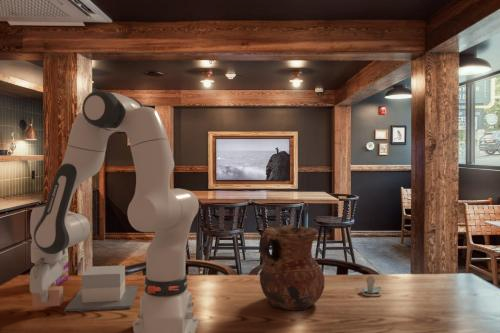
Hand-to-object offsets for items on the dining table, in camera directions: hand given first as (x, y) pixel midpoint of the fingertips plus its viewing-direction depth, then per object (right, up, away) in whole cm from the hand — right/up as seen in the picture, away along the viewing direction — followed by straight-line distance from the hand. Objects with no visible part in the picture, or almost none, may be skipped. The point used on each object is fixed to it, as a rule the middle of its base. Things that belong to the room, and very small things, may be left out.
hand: (48, 298), depth 129 cm
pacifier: (+107, -4, +15) cm, 108 cm away
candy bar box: (-10, -3, +27) cm, 29 cm away
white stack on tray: (+14, -4, +10) cm, 18 cm away
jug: (+78, -4, +6) cm, 78 cm away
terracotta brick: (0, -2, 0) cm, 2 cm away
